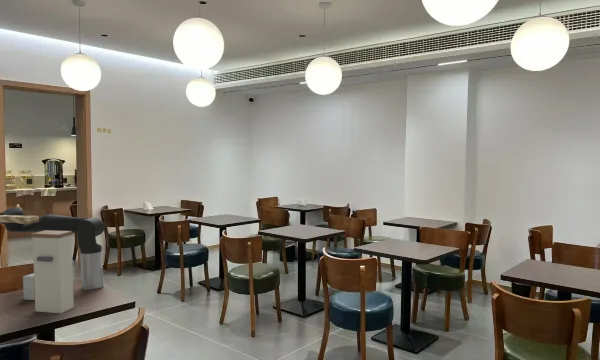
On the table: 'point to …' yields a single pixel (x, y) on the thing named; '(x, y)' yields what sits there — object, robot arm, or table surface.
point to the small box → (29, 287)
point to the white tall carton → (53, 271)
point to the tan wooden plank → (19, 219)
